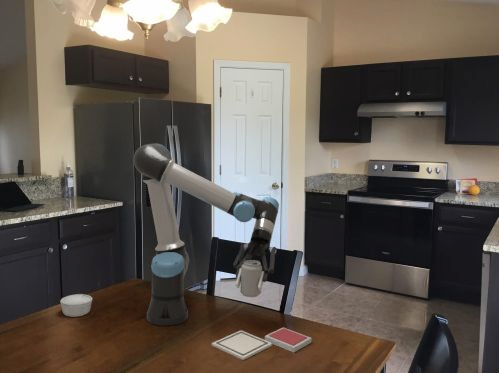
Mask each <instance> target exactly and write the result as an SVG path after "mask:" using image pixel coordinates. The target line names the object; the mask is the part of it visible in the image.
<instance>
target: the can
mask: <svg viewBox="0 0 499 373" xmlns="http://www.w3.org/2000/svg"><path fill="white" fill-rule="evenodd" d="M243 263H244V264H243V265H242V266H241V283H240V289H239V290H240V294H242V296H244V297H247V298H256V297H258V296H259V295H260V294H261V293H262V290H261V291H259V289H258V284H259V280H260V276H261V272H262V271H263V266H262V264H261V262H260V260H255V259H253V260H252V259H250V260H246V261H244V262H243Z"/></svg>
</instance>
